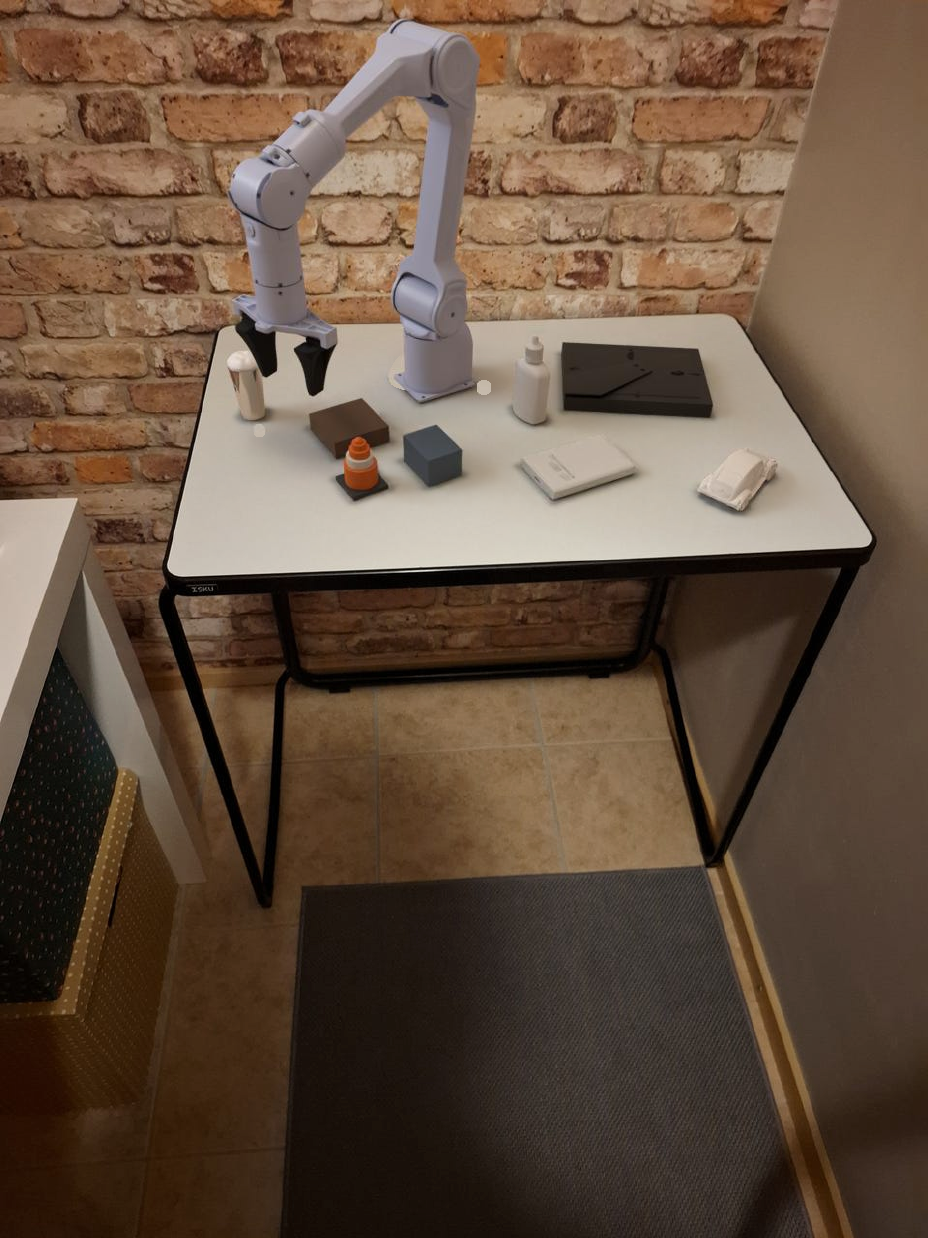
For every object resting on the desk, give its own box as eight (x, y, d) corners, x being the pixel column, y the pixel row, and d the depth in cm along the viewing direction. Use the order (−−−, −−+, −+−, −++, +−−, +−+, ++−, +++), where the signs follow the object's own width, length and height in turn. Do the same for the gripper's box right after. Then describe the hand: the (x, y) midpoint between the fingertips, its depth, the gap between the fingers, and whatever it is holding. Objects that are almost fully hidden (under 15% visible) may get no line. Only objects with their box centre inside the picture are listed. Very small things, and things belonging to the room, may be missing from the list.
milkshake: (269, 426, 117) (257, 359, 110) (232, 421, 118) (218, 354, 111) (280, 408, 120) (270, 342, 113) (244, 403, 121) (232, 337, 114)
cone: (370, 468, 111) (367, 421, 106) (388, 488, 108) (386, 441, 103) (335, 479, 109) (330, 433, 104) (353, 500, 106) (349, 454, 101)
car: (736, 518, 106) (746, 487, 102) (692, 497, 108) (700, 467, 105) (780, 474, 112) (790, 444, 109) (737, 455, 115) (746, 426, 111)
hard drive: (634, 475, 111) (553, 501, 107) (598, 442, 116) (520, 466, 112) (636, 465, 110) (554, 491, 106) (600, 432, 115) (521, 456, 111)
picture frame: (563, 410, 122) (709, 417, 121) (565, 392, 120) (714, 399, 119) (561, 354, 132) (695, 360, 132) (562, 337, 130) (699, 343, 130)
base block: (362, 413, 120) (361, 397, 118) (389, 441, 115) (389, 425, 114) (310, 429, 117) (308, 413, 115) (336, 459, 112) (334, 443, 111)
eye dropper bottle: (541, 403, 123) (549, 325, 114) (546, 425, 119) (554, 346, 110) (511, 404, 122) (516, 325, 114) (515, 426, 119) (521, 346, 110)
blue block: (436, 449, 114) (436, 424, 111) (461, 475, 111) (462, 449, 108) (403, 460, 112) (402, 434, 110) (428, 487, 109) (428, 461, 106)
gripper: (206, 272, 98) (227, 379, 107) (304, 307, 92) (317, 415, 102) (249, 251, 102) (265, 355, 112) (344, 283, 97) (353, 389, 106)
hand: (292, 382), depth 107 cm, fingers open, 7 cm apart
